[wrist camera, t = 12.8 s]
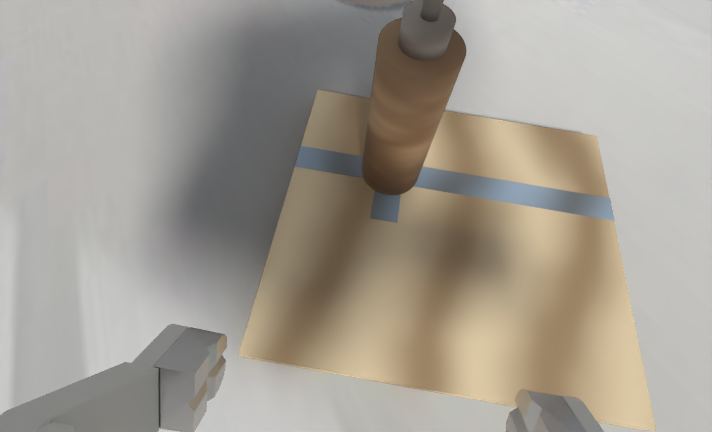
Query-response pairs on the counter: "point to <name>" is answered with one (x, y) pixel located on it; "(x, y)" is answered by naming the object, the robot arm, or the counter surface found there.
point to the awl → (410, 93)
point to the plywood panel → (454, 268)
